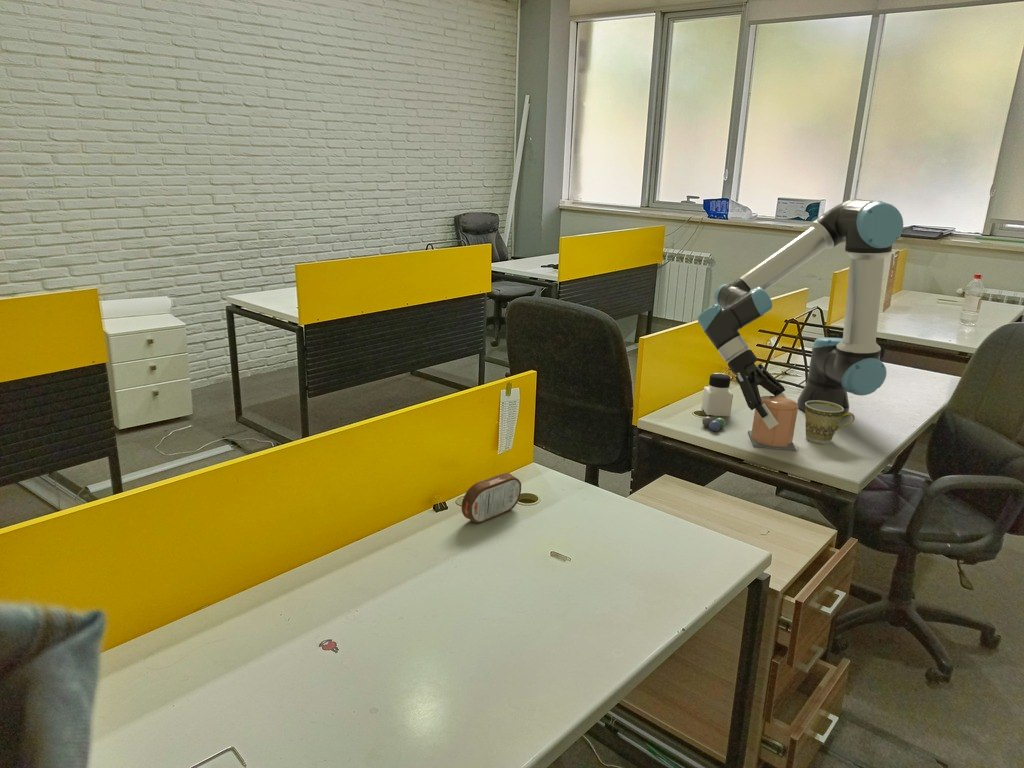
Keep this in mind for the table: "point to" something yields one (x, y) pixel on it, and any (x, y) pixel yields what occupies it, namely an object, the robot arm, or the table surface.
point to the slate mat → (756, 444)
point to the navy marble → (714, 425)
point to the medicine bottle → (717, 396)
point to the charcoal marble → (707, 421)
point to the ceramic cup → (823, 420)
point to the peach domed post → (783, 414)
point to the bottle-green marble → (720, 422)
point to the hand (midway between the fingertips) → (783, 420)
